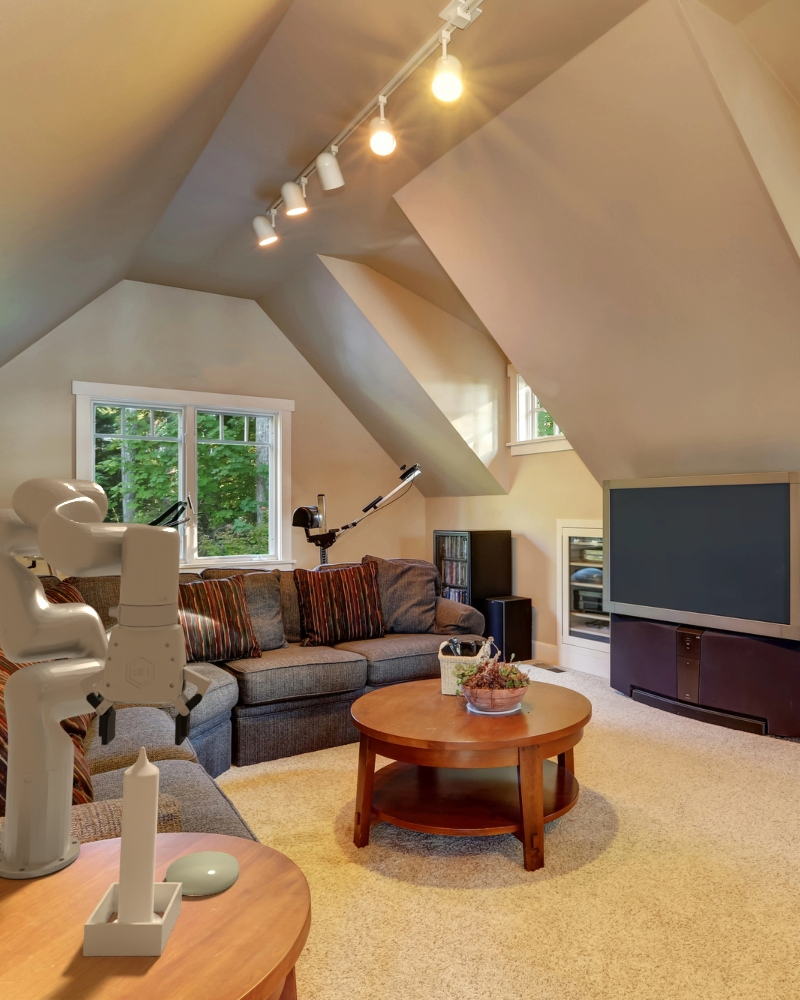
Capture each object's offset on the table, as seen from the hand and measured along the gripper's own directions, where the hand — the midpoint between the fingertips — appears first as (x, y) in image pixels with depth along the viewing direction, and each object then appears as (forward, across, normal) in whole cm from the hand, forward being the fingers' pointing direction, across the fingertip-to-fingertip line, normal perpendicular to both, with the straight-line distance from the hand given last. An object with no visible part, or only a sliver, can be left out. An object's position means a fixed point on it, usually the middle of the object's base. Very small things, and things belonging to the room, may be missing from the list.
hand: (144, 742), depth 91 cm
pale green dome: (+26, +5, +14) cm, 30 cm away
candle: (+26, 0, 0) cm, 26 cm away
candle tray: (+26, 0, 0) cm, 26 cm away
